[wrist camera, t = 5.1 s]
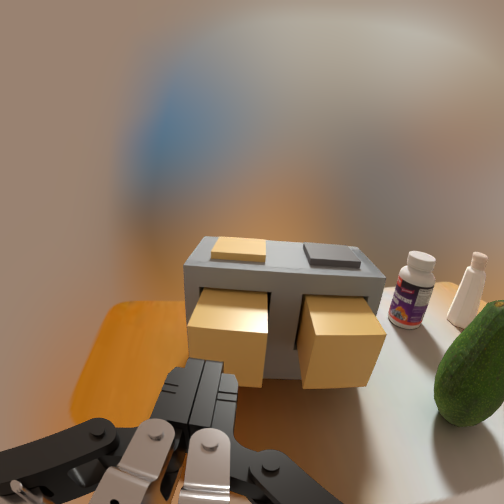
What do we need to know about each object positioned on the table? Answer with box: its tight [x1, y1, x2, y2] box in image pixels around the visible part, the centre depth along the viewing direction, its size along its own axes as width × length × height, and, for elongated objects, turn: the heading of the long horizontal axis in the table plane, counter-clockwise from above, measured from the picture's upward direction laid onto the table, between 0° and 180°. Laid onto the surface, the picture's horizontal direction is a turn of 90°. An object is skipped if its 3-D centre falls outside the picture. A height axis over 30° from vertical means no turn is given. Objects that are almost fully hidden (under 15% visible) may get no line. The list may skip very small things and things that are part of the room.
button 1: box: [187, 287, 268, 388], centre depth 21 cm, size 5×8×5 cm, turn 178°
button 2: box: [296, 294, 387, 389], centre depth 21 cm, size 5×8×5 cm, turn 178°
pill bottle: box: [388, 251, 436, 329], centre depth 32 cm, size 5×5×10 cm
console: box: [183, 236, 386, 379], centre depth 26 cm, size 16×8×12 cm, turn 88°
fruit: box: [434, 300, 504, 427], centre depth 15 cm, size 8×8×12 cm
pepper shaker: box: [447, 252, 488, 329], centre depth 31 cm, size 5×5×11 cm
